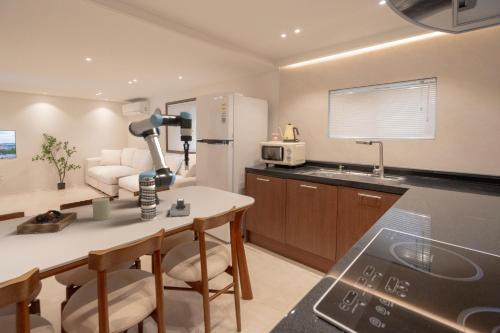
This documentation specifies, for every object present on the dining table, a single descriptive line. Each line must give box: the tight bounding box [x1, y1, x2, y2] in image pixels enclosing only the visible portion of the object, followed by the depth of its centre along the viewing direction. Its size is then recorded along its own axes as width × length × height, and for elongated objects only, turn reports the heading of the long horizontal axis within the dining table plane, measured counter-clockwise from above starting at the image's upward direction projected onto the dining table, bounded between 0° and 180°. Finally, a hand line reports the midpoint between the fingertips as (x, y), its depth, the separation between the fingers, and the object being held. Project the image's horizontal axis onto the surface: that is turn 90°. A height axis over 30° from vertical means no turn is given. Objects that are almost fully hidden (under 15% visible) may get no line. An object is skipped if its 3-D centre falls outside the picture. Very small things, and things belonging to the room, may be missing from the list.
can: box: [91, 196, 111, 221], centre depth 158 cm, size 9×9×12 cm
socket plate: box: [169, 203, 191, 217], centre depth 172 cm, size 12×16×4 cm
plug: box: [176, 198, 185, 209], centre depth 172 cm, size 4×4×8 cm
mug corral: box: [16, 211, 78, 235], centre depth 145 cm, size 19×21×4 cm
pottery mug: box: [35, 209, 62, 224], centre depth 147 cm, size 12×10×8 cm
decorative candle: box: [140, 177, 157, 222], centre depth 157 cm, size 9×9×25 cm
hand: (186, 170), depth 179 cm, fingers closed
